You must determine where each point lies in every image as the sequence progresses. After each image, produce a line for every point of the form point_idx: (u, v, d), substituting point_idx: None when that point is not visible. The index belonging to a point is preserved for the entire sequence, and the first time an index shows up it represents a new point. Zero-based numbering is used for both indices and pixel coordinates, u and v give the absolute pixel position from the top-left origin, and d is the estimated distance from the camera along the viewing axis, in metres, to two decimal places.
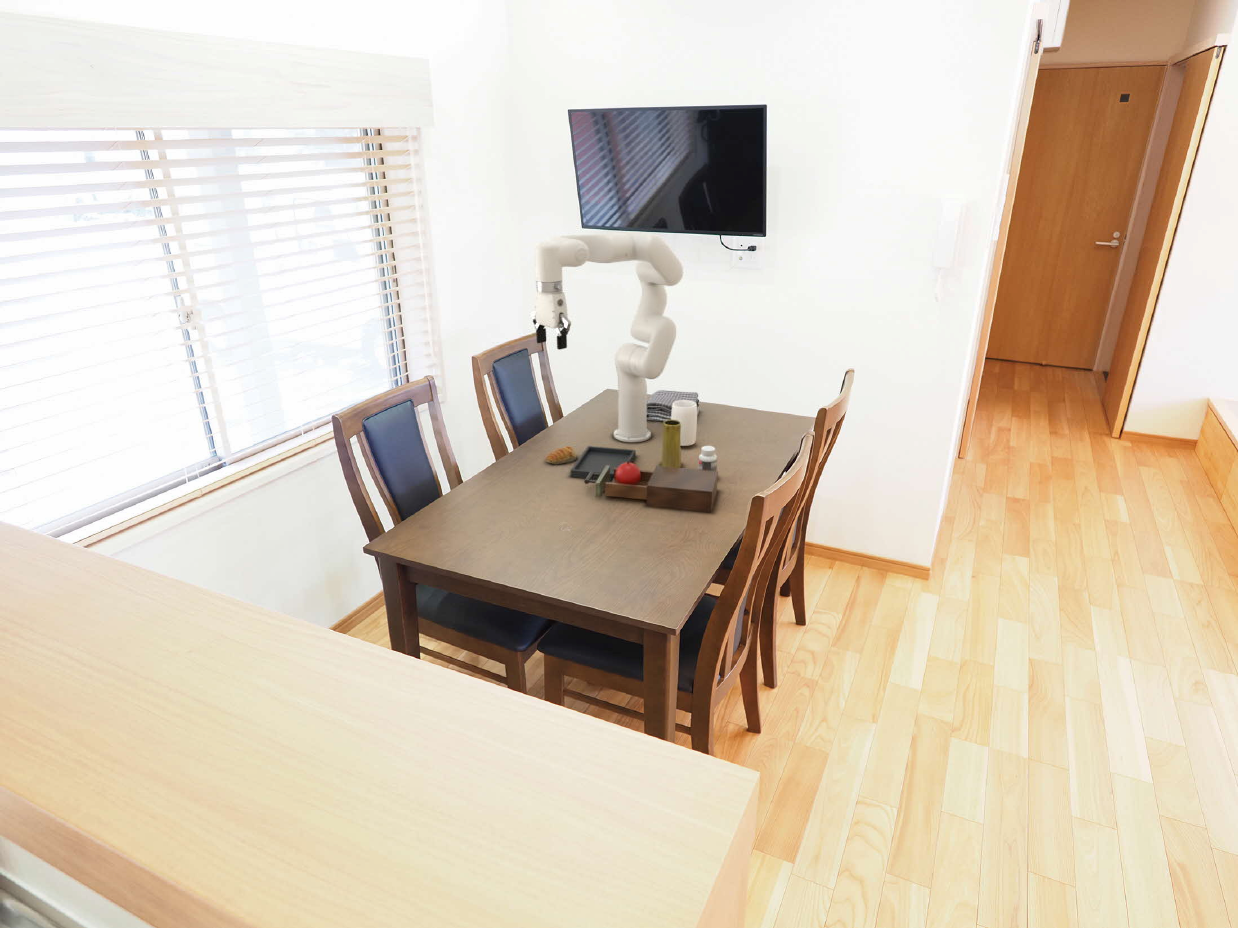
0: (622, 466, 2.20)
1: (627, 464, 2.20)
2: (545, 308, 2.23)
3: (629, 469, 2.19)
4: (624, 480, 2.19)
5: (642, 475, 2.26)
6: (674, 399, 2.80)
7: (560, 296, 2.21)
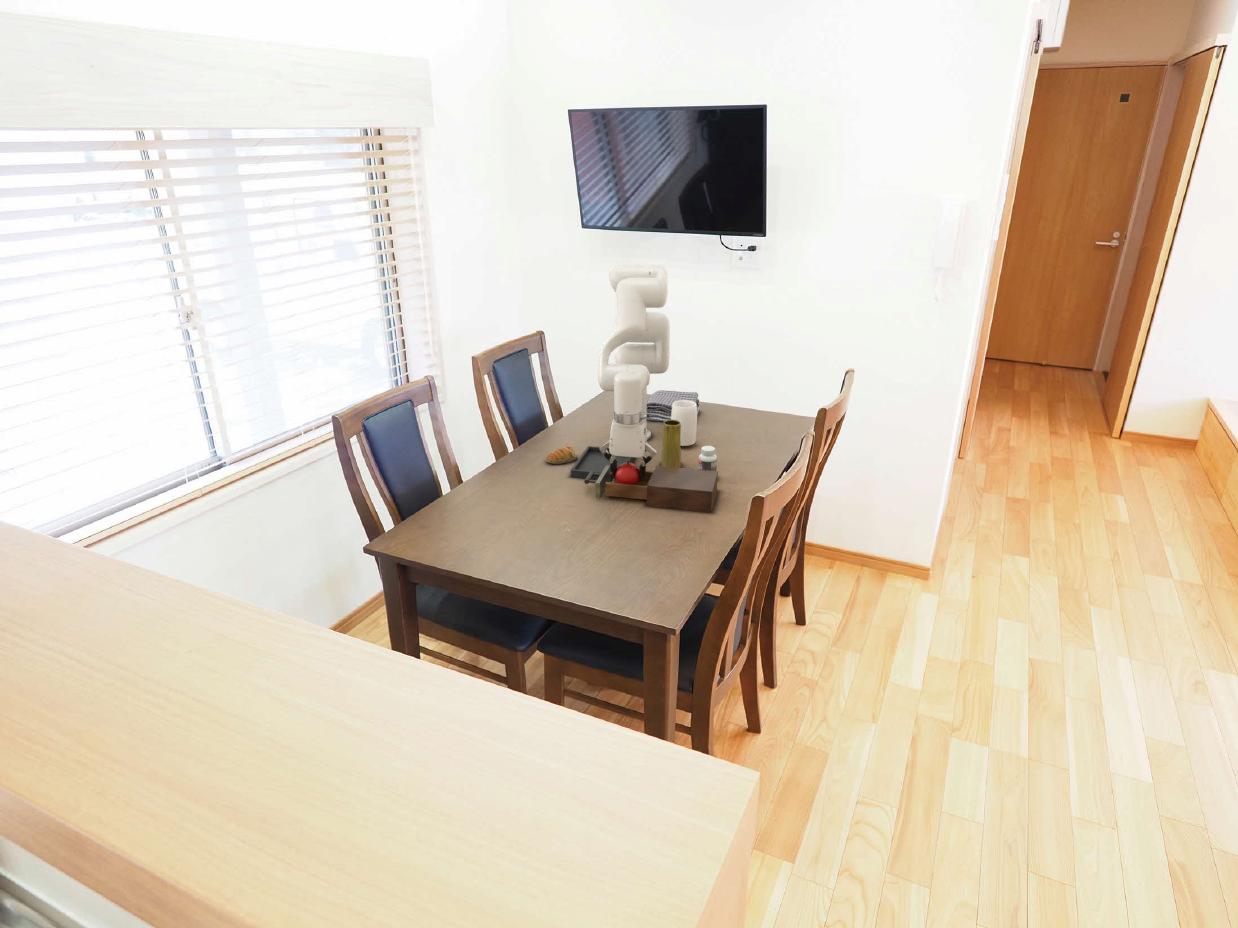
0: (622, 466, 2.20)
1: (627, 464, 2.20)
2: (629, 439, 2.15)
3: (629, 469, 2.19)
4: (624, 480, 2.19)
5: None
6: (674, 399, 2.79)
7: (644, 424, 2.15)
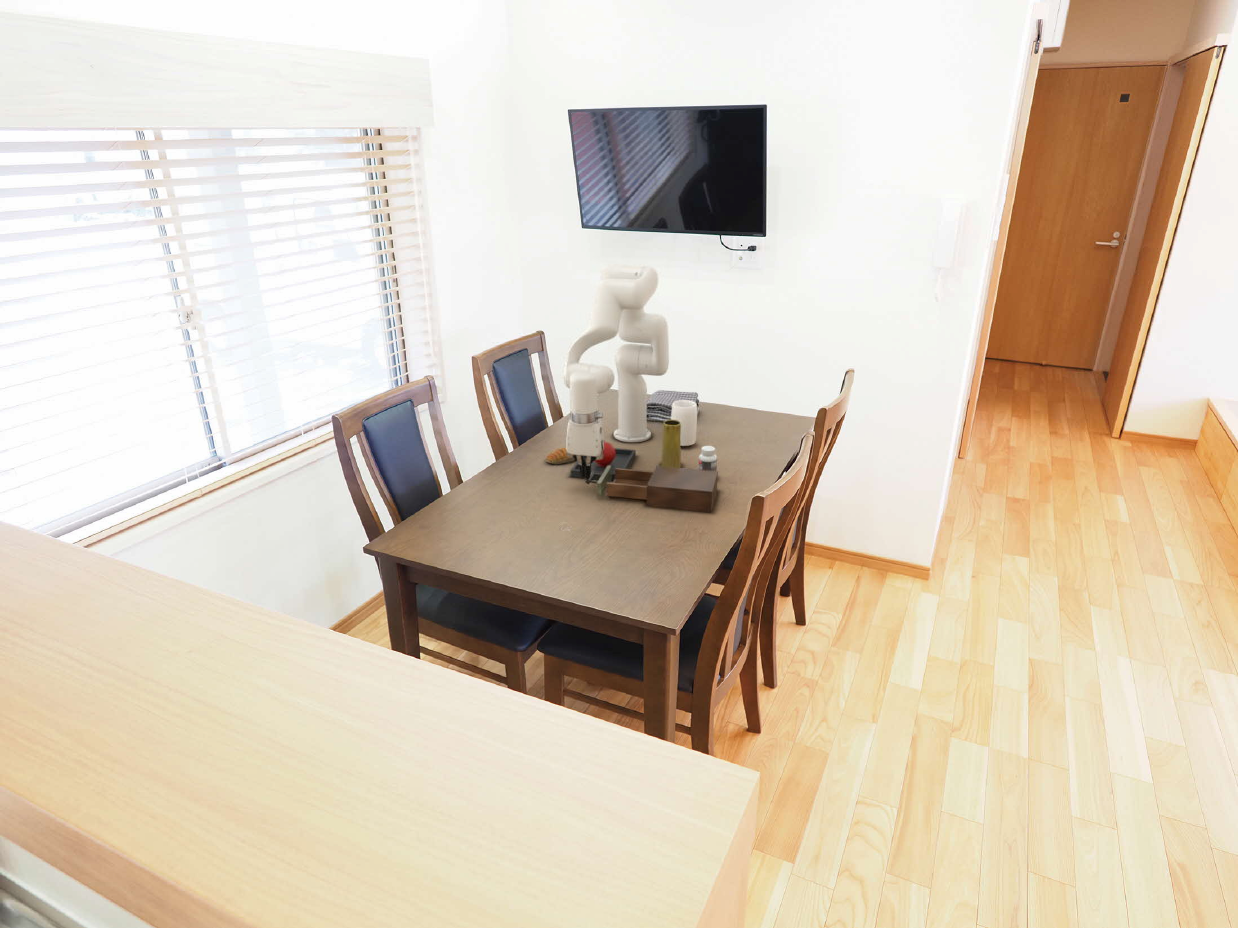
0: None
1: None
2: (585, 438, 2.18)
3: (605, 447, 2.37)
4: None
5: (643, 475, 2.26)
6: (674, 399, 2.79)
7: (600, 424, 2.18)
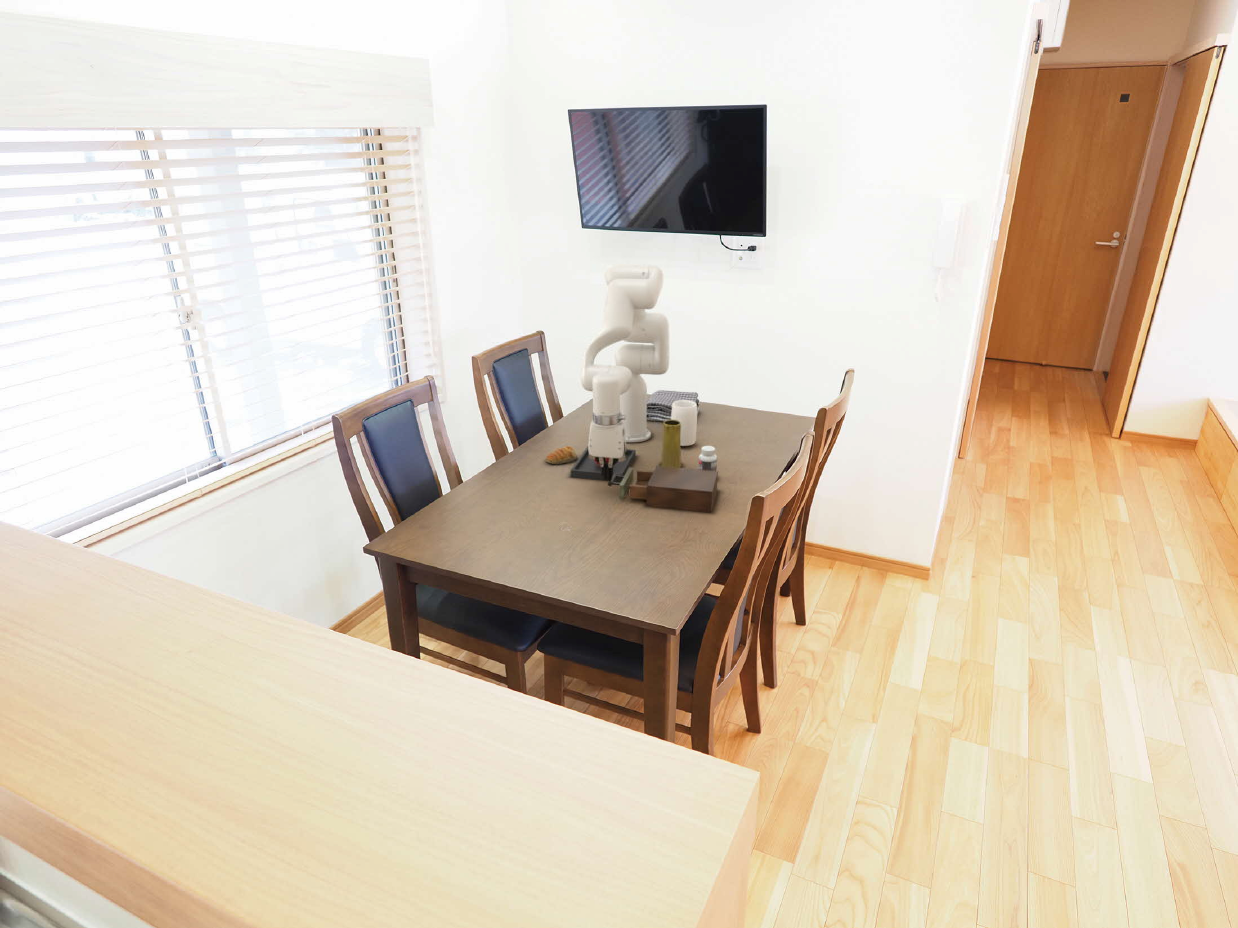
0: None
1: None
2: (608, 440, 2.16)
3: None
4: None
5: None
6: (674, 399, 2.79)
7: (623, 425, 2.17)
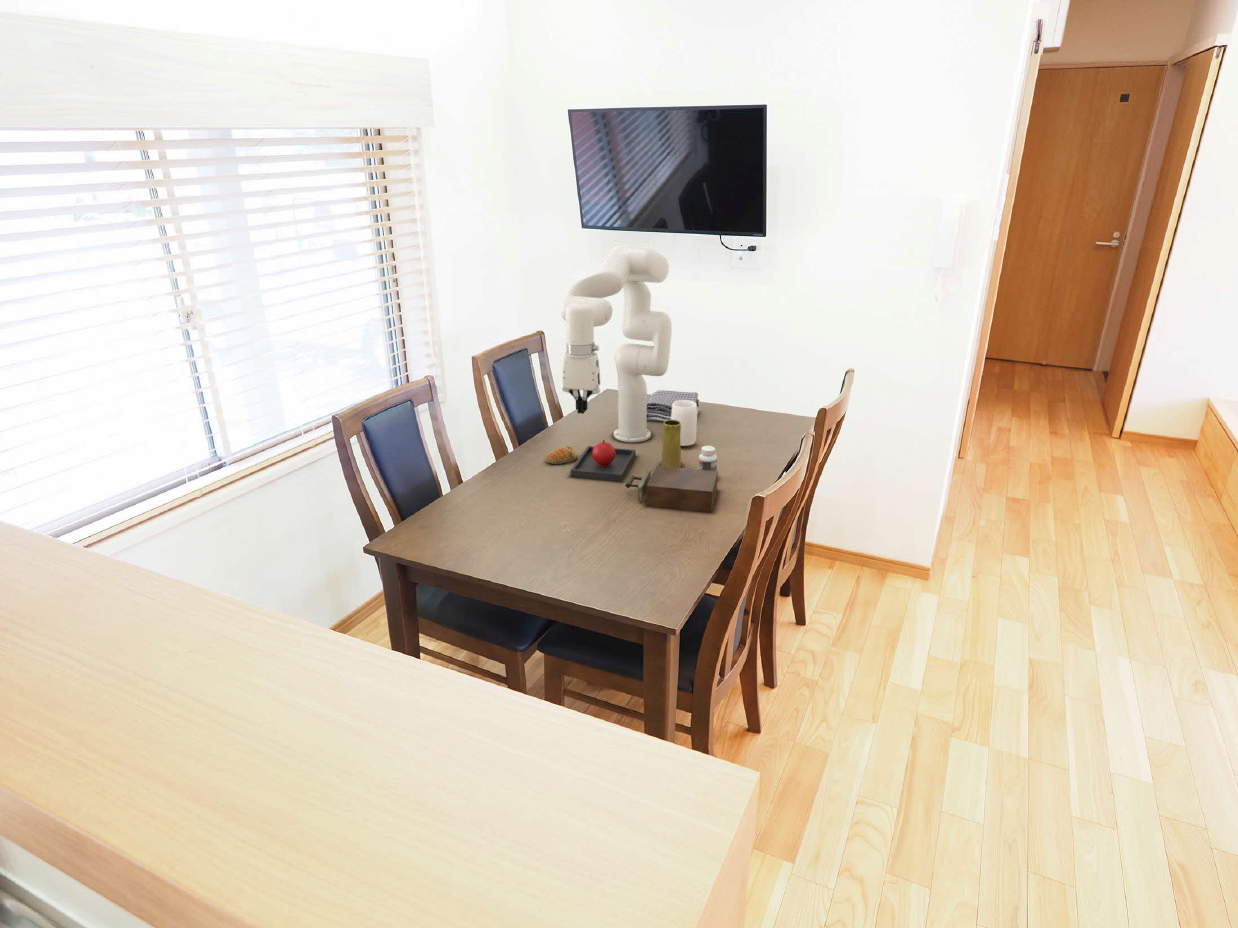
0: (598, 445, 2.38)
1: (603, 443, 2.38)
2: (582, 371, 2.14)
3: (605, 447, 2.37)
4: (600, 458, 2.37)
5: None
6: (674, 399, 2.79)
7: (596, 356, 2.15)
